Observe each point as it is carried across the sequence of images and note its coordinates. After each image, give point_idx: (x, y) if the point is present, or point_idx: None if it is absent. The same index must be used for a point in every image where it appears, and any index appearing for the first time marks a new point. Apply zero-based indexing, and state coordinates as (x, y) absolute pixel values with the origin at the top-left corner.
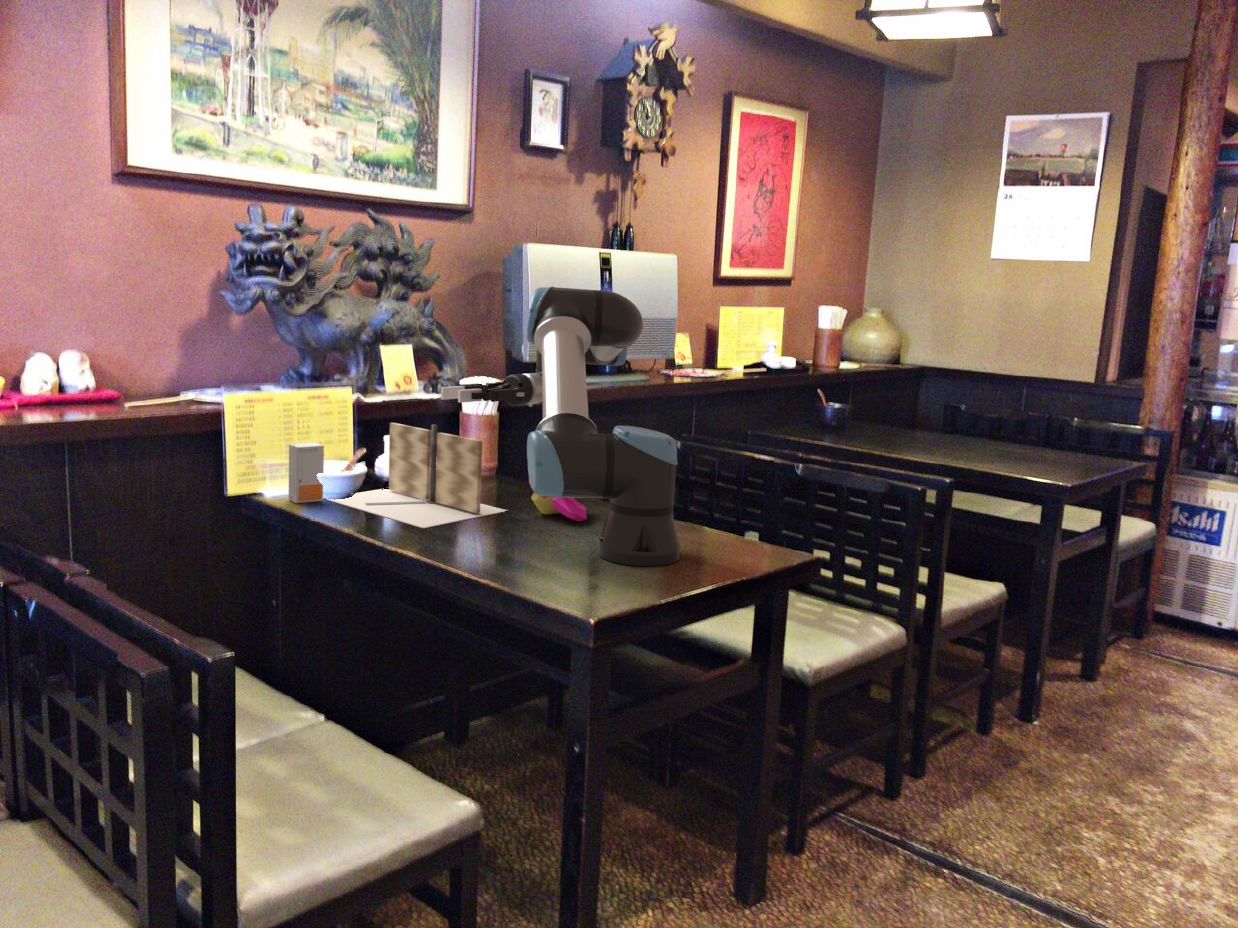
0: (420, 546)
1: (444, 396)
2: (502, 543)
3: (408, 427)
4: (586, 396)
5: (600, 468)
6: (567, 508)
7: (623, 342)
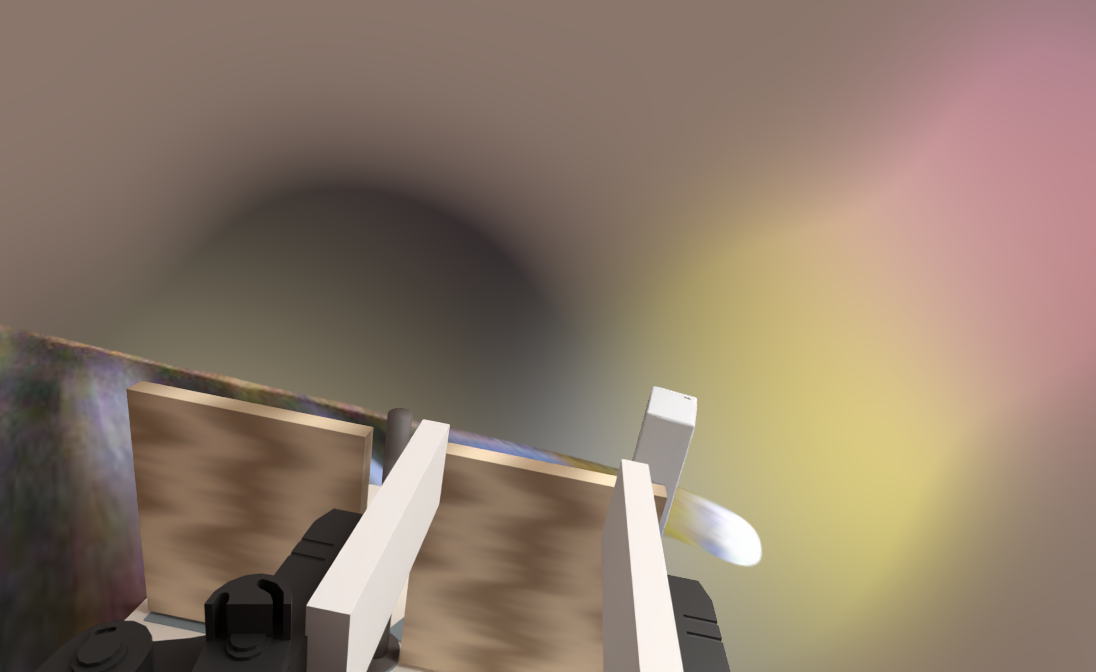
0: None
1: (606, 527)
2: (44, 455)
3: (545, 463)
4: None
5: None
6: None
7: None
